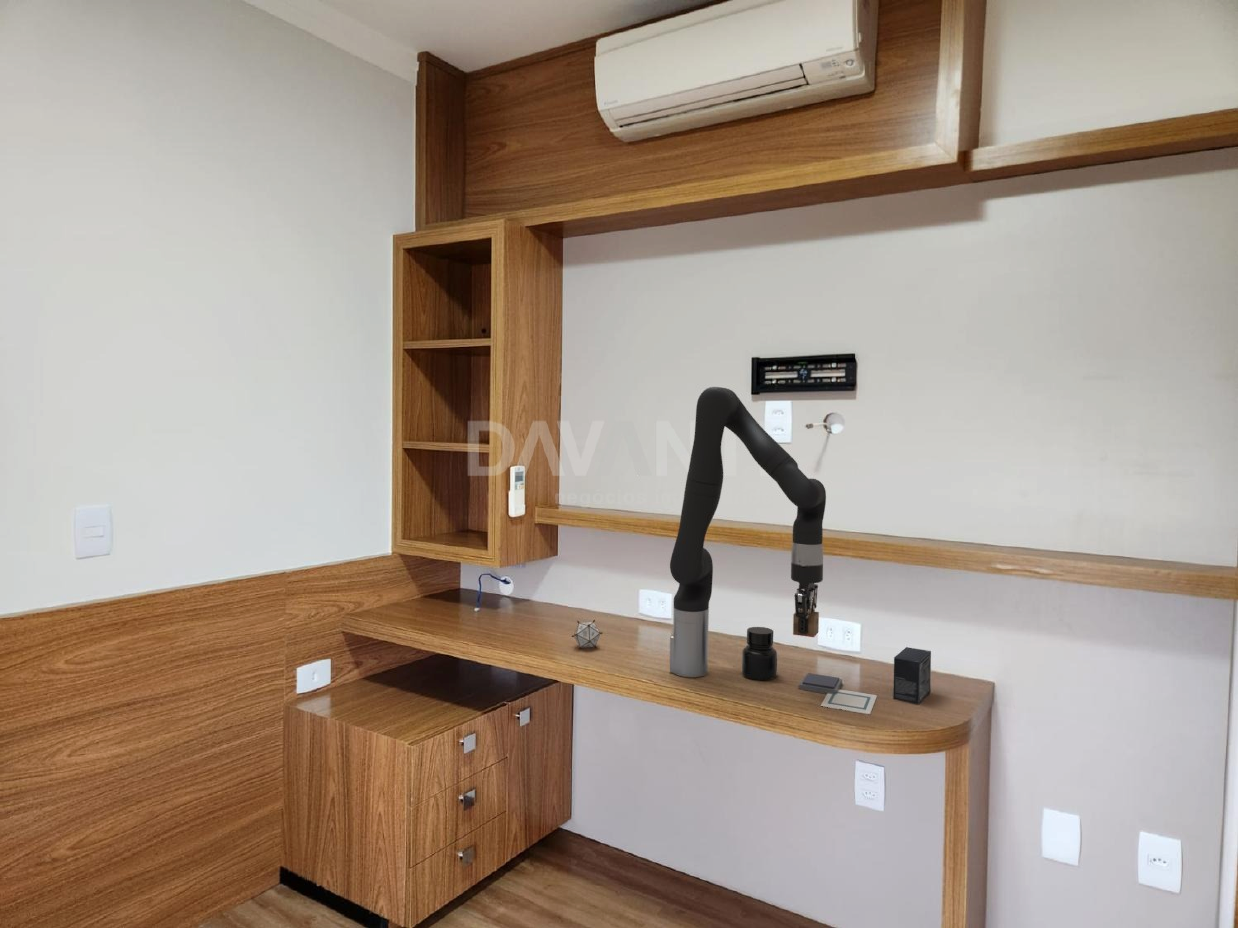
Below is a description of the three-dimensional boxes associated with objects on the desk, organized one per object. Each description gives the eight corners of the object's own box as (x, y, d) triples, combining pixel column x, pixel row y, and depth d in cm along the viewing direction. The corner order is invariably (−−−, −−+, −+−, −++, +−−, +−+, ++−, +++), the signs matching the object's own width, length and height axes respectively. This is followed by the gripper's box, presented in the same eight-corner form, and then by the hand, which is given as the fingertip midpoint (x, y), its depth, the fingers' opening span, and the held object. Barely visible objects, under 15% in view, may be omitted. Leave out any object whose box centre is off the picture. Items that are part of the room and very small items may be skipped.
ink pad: (798, 689, 186) (799, 682, 186) (806, 678, 194) (806, 671, 194) (836, 695, 182) (836, 688, 182) (842, 683, 190) (842, 677, 190)
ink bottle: (784, 675, 196) (785, 630, 196) (766, 684, 190) (767, 637, 189) (752, 667, 203) (753, 623, 202) (734, 675, 196) (735, 630, 195)
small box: (904, 686, 189) (905, 645, 189) (931, 692, 185) (932, 650, 185) (891, 698, 181) (892, 656, 180) (919, 705, 177) (921, 661, 176)
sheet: (820, 706, 175) (820, 705, 175) (830, 688, 187) (830, 687, 187) (870, 714, 170) (870, 713, 170) (876, 696, 182) (876, 694, 182)
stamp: (793, 634, 182) (793, 605, 181) (798, 629, 186) (798, 601, 186) (813, 637, 179) (814, 608, 179) (818, 632, 184) (818, 603, 184)
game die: (589, 658, 220) (605, 628, 224) (595, 656, 212) (611, 625, 216) (563, 643, 220) (579, 613, 223) (567, 641, 212) (584, 609, 216)
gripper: (798, 555, 190) (797, 621, 191) (784, 564, 177) (782, 635, 178) (828, 557, 187) (827, 625, 187) (816, 567, 174) (814, 640, 175)
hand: (805, 630), depth 183 cm, fingers closed on stamp, 5 cm apart
